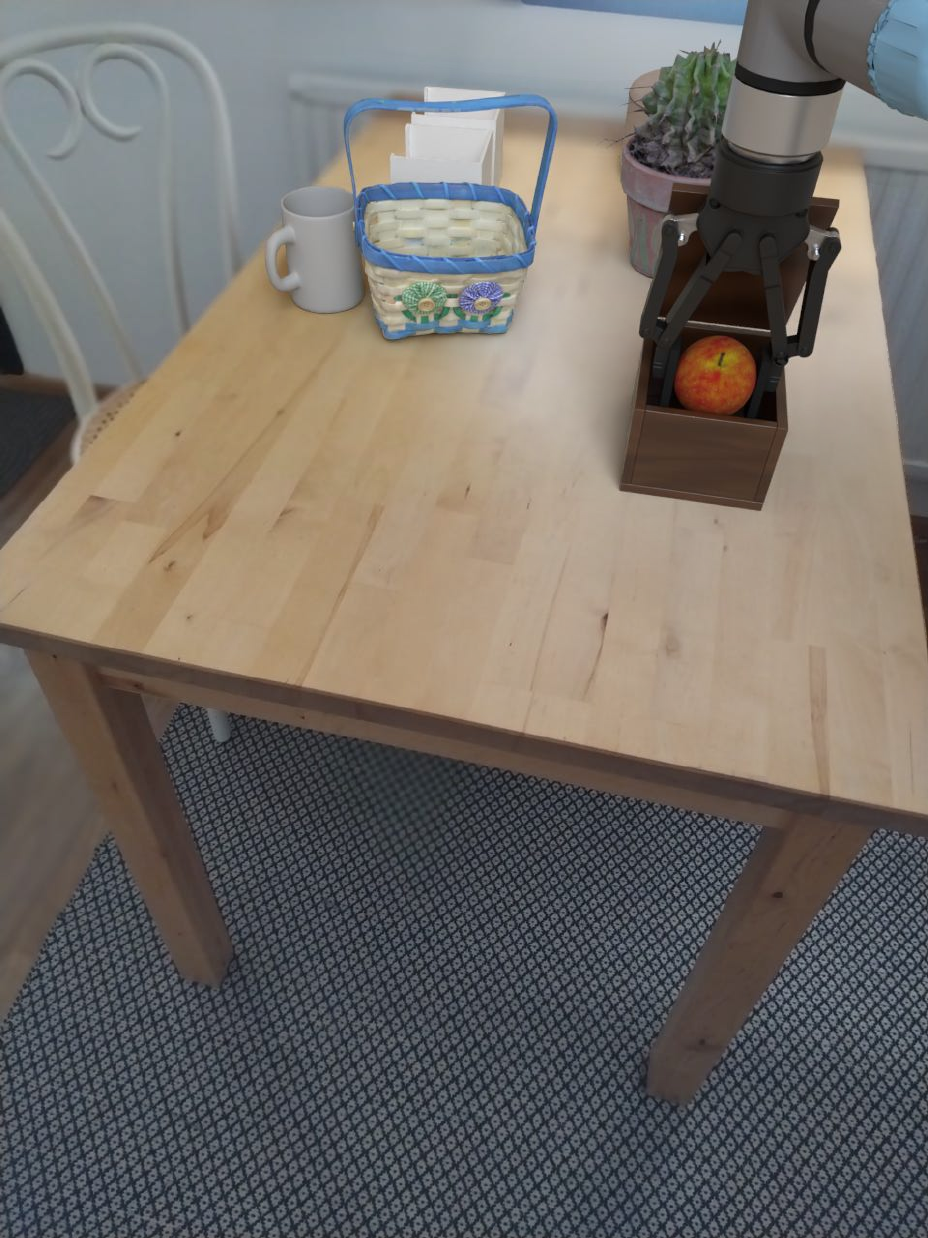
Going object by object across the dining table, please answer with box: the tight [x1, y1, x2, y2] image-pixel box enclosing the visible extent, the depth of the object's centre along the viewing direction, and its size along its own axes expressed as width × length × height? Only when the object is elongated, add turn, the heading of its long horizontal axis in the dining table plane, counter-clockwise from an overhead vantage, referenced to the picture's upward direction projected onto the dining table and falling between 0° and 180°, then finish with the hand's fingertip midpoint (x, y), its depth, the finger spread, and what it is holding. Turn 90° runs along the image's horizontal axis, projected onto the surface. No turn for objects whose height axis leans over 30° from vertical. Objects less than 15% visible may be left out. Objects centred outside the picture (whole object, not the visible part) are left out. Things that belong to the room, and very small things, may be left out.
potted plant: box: [597, 39, 737, 279], centre depth 106 cm, size 18×20×25 cm
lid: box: [658, 130, 841, 331], centre depth 81 cm, size 17×13×10 cm
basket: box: [343, 93, 558, 340], centre depth 96 cm, size 21×16×24 cm
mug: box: [264, 185, 365, 314], centre depth 103 cm, size 12×8×11 cm
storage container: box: [389, 86, 507, 247], centre depth 121 cm, size 25×11×11 cm, turn 172°
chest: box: [619, 318, 789, 511], centre depth 86 cm, size 16×13×9 cm
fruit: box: [673, 336, 756, 416], centre depth 80 cm, size 7×7×8 cm
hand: (705, 412), depth 83 cm, fingers closed on fruit, 7 cm apart
